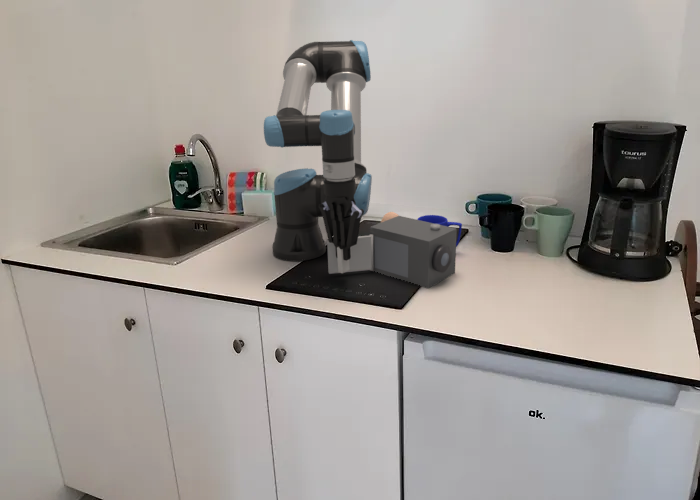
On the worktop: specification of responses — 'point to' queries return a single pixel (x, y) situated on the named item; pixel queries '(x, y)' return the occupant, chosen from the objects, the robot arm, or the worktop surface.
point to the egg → (389, 216)
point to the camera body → (414, 250)
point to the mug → (441, 222)
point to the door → (354, 255)
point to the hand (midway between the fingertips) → (344, 271)
